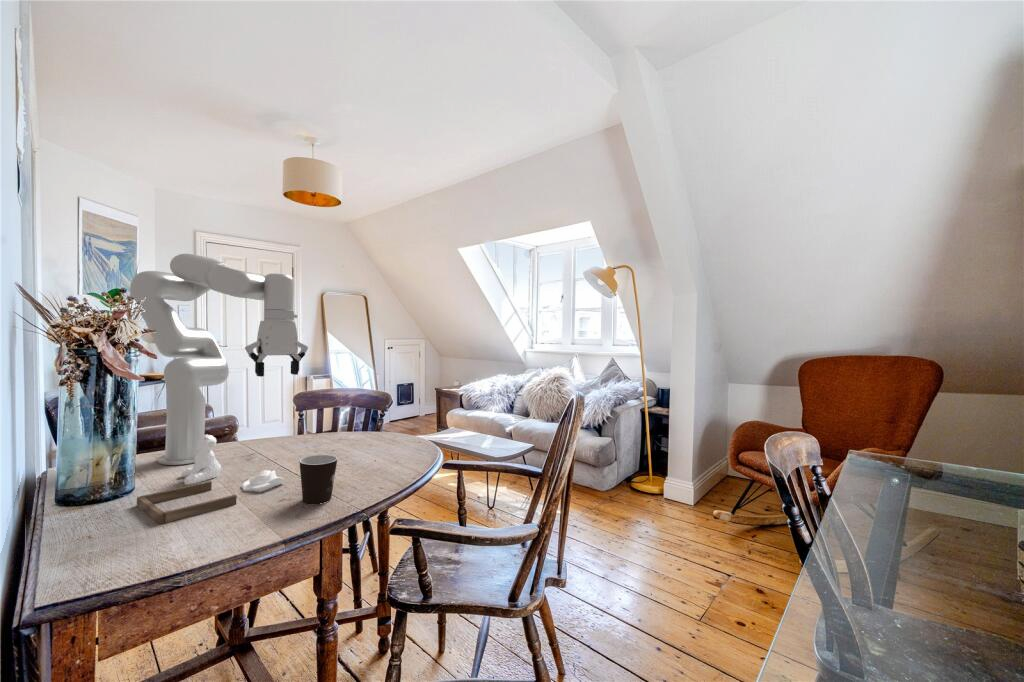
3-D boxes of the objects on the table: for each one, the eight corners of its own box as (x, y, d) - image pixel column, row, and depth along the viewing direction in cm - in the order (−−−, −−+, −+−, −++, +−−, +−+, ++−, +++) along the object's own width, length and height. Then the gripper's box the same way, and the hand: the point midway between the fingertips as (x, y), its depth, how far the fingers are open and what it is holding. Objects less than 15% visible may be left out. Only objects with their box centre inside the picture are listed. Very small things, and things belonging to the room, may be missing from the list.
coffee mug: (321, 508, 101) (323, 466, 101) (289, 504, 102) (291, 462, 102) (349, 491, 112) (351, 453, 112) (320, 487, 114) (322, 450, 114)
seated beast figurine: (180, 476, 118) (181, 433, 118) (217, 470, 124) (219, 429, 123) (184, 486, 111) (186, 440, 111) (224, 479, 117) (226, 435, 117)
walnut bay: (136, 505, 98) (136, 497, 98) (209, 489, 110) (210, 481, 110) (159, 524, 89) (160, 515, 89) (236, 504, 101) (236, 495, 101)
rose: (283, 474, 111) (239, 478, 107) (282, 491, 111) (238, 496, 107) (286, 463, 120) (245, 466, 116) (285, 479, 120) (244, 482, 116)
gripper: (301, 318, 134) (300, 373, 134) (240, 315, 120) (239, 376, 120) (314, 318, 130) (313, 374, 130) (252, 314, 116) (251, 377, 116)
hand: (277, 375), depth 125 cm, fingers open, 9 cm apart
